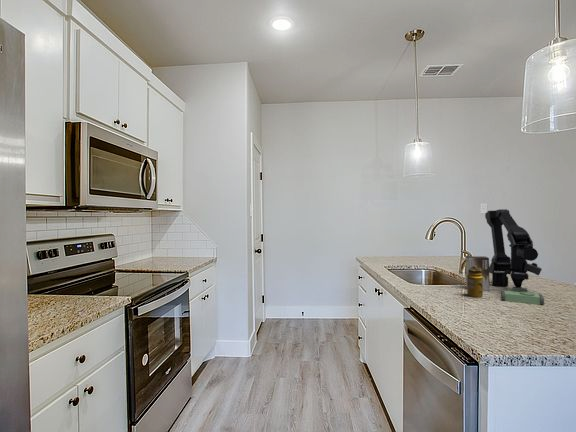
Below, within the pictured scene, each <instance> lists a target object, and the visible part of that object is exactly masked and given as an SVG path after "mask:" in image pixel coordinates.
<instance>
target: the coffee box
mask: <svg viewBox="0 0 576 432" xmlns="http://www.w3.org/2000/svg"><path fill="white" fill-rule="evenodd" d="M489 266H490V258H489V257H488V256H479V255H476V256H474V255H473V256H472V255H465V283H466V284H465V287H466V288H467V276H468V270H469V269H477V270H481V274H482V275H481V276H482V277H483V292H486V291H487V292H488V291H489V292H490V285H491V284H490V273H489Z"/></svg>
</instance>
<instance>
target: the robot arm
mask: <svg viewBox="0 0 576 432" xmlns="http://www.w3.org/2000/svg"><path fill="white" fill-rule="evenodd" d="M484 217H485V220H486V223H487V225H488V226H489V227H490V229H491V238H492V245H493V256H492V258H491V260H490V261H491V263H489V274H491V276H492V278H491V280H492V281H491V286H492V287H493V286H494V287H502V288H503V287H504V288H508V286H509V275H510V279H511V281H512V282H513V285H514V287H522V285H523V281H526V280H529V274H528V272H529V273H532V274H535V275H536V276H540V274H541V273H542V270H543V269H542V268H541V267H540V266H538V264H537V263H536V262H532V261H536V259H537V258H538V257H539V252H538V251H537V249H536V248H534V242H533V240H532V239H531V236H530V234H529V232H528V231H527V230H526V229H525V228H523V227H522V226H519V225H518V224H517V222H516V220H515V219H514V218H513V216H512V215H511V213H510V210H509V209H506V208H505V209H504V208H503V209H502V208H501V209H496V210H488V211H487V212H485V215H484ZM503 226H504V228H505V229H506V231H507V234H506V237H507V239H508V242H509V243H510V244H509V247H510V256H509V255H507V254H506V250H505V248H506V247H505V242H504V235H503ZM528 261H530V262H532V263H528Z"/></svg>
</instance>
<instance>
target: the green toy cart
mask: <svg viewBox="0 0 576 432" xmlns="http://www.w3.org/2000/svg"><path fill="white" fill-rule="evenodd" d="M500 298H501V301H505V302H512V303H522V304H531V305H544V306H545V298H544V297H543V295H542V294H540V293H535V292H532V291H527V292H514V291H512V290H511V289H507V290H500Z"/></svg>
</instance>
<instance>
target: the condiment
mask: <svg viewBox="0 0 576 432" xmlns="http://www.w3.org/2000/svg"><path fill="white" fill-rule="evenodd" d="M481 275H482V274H481V270H477V269H469V270H468V276H467V287H466V289H467V290H466V291H467V292H466V293H459V295H460V296H462V297H464V298H467V299H487V298H488V297H487V296H483V293H484V291H483V277H482V276H481Z"/></svg>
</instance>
